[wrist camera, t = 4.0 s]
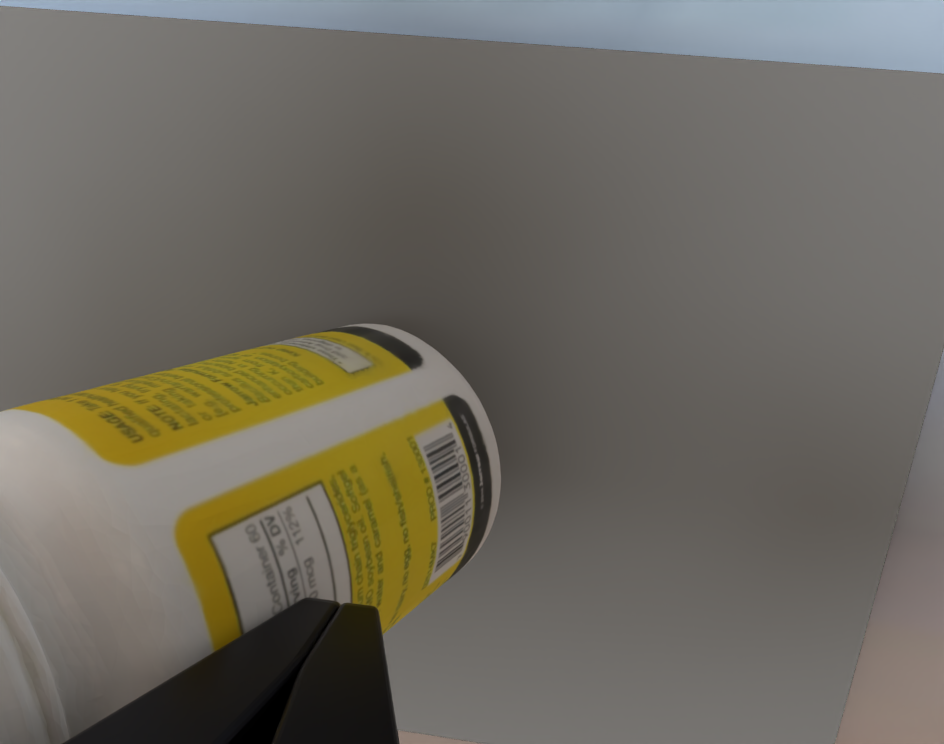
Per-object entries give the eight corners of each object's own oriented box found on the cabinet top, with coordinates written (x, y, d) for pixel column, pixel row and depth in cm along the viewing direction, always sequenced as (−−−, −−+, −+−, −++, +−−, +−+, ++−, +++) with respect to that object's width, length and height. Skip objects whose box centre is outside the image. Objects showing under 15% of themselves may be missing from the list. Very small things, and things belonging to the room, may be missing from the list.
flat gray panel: (1009, 81, 11) (1017, 79, 11) (817, 788, 15) (820, 796, 15) (-155, -4, 13) (-165, -7, 13) (-60, 651, 17) (-67, 657, 17)
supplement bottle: (262, 423, 15) (-339, 635, 8) (383, 262, 12) (-346, 362, 5) (403, 619, 14) (-138, 1062, 7) (566, 489, 11) (-29, 979, 4)
